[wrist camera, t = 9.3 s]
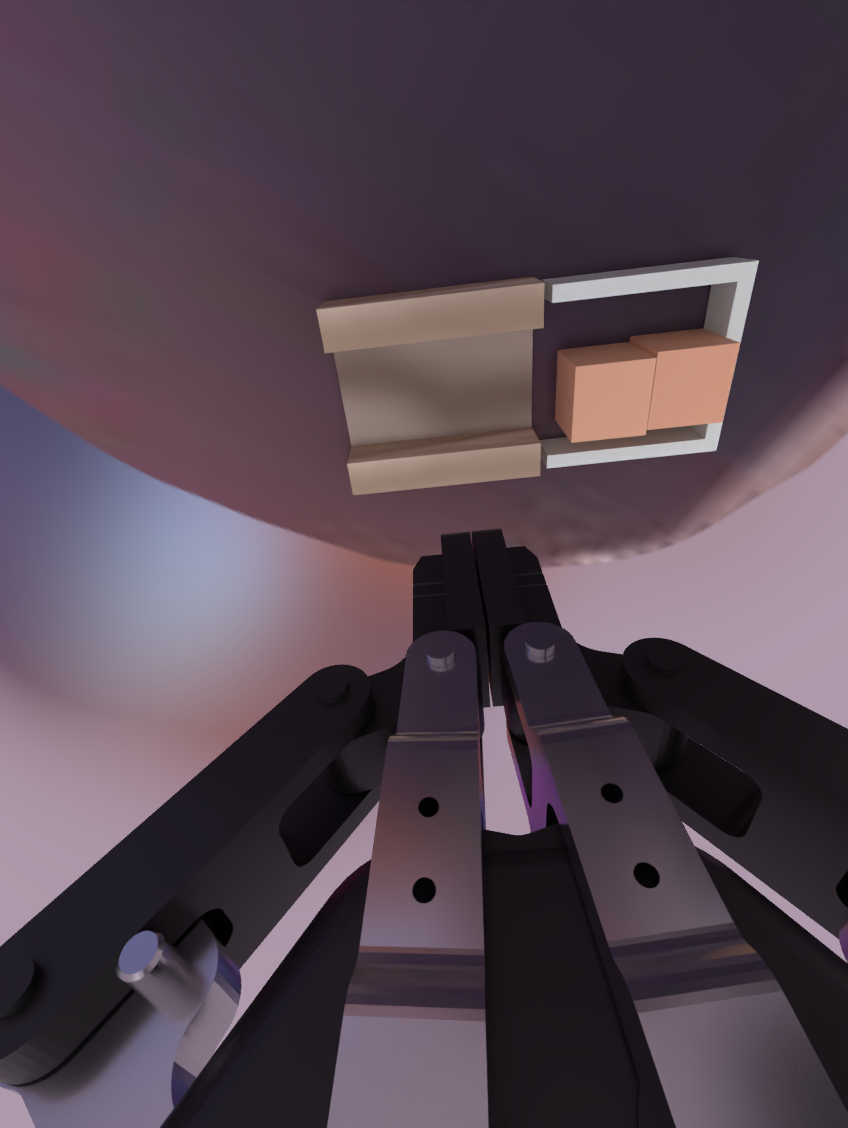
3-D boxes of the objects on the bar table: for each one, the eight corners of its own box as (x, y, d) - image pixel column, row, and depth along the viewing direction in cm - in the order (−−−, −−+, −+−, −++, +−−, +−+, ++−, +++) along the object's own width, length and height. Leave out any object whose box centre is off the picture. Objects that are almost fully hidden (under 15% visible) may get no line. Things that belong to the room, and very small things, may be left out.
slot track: (324, 301, 28) (316, 309, 25) (532, 276, 27) (544, 282, 25) (357, 474, 33) (353, 495, 31) (530, 456, 33) (540, 475, 30)
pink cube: (557, 349, 29) (575, 366, 26) (628, 341, 29) (656, 357, 26) (554, 419, 32) (571, 442, 28) (620, 411, 31) (645, 434, 28)
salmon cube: (629, 336, 29) (658, 351, 26) (702, 328, 29) (740, 342, 26) (621, 407, 31) (647, 430, 28) (688, 399, 31) (722, 422, 28)
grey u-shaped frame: (541, 279, 27) (552, 285, 25) (731, 257, 27) (758, 260, 25) (538, 452, 33) (546, 468, 30) (696, 435, 32) (716, 450, 30)
